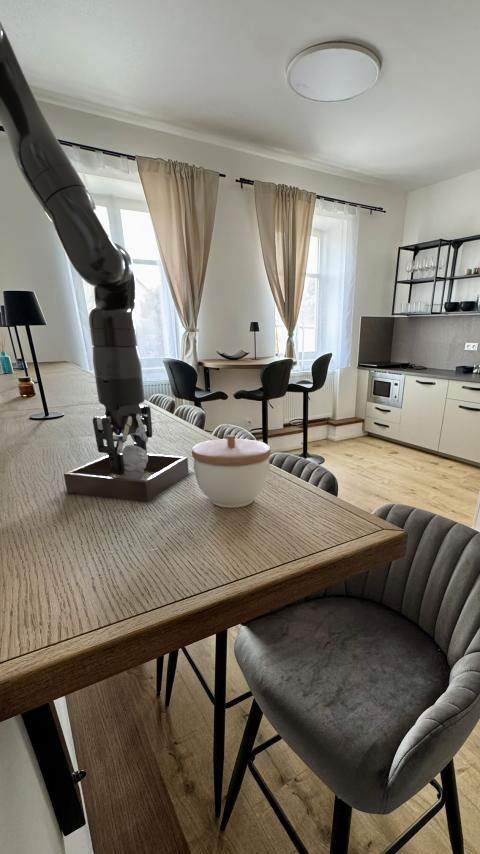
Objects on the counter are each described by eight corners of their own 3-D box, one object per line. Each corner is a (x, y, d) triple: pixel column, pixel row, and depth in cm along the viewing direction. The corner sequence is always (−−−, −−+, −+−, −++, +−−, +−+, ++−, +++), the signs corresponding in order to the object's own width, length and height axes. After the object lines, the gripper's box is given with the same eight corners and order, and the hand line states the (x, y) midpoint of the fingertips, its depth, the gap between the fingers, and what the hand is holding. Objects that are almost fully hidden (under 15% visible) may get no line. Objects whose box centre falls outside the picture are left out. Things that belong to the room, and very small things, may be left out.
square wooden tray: (66, 492, 71) (63, 473, 70) (119, 467, 86) (117, 451, 84) (147, 501, 68) (145, 482, 67) (188, 474, 82) (187, 457, 81)
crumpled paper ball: (157, 480, 78) (154, 444, 76) (127, 491, 73) (122, 452, 70) (136, 475, 81) (132, 440, 79) (105, 484, 76) (100, 447, 73)
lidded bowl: (180, 508, 66) (175, 440, 62) (215, 483, 77) (212, 425, 73) (254, 519, 62) (254, 448, 58) (279, 491, 74) (280, 430, 70)
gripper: (123, 371, 77) (134, 456, 83) (70, 377, 64) (87, 478, 70) (160, 372, 75) (167, 459, 82) (112, 379, 62) (126, 482, 69)
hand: (130, 467), depth 76 cm, fingers open, 7 cm apart
